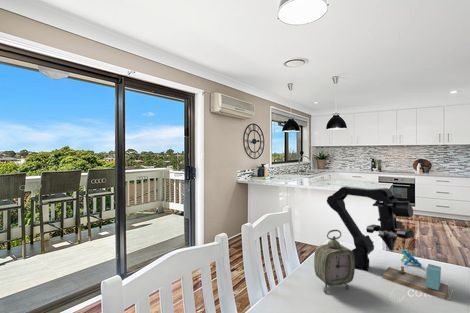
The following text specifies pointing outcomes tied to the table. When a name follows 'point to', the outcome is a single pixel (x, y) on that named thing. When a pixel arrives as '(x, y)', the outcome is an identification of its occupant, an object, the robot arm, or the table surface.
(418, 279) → the board
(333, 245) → the tabletop clock
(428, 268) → the block
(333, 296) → the table surface
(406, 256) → the blue irregular piece
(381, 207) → the robot arm
